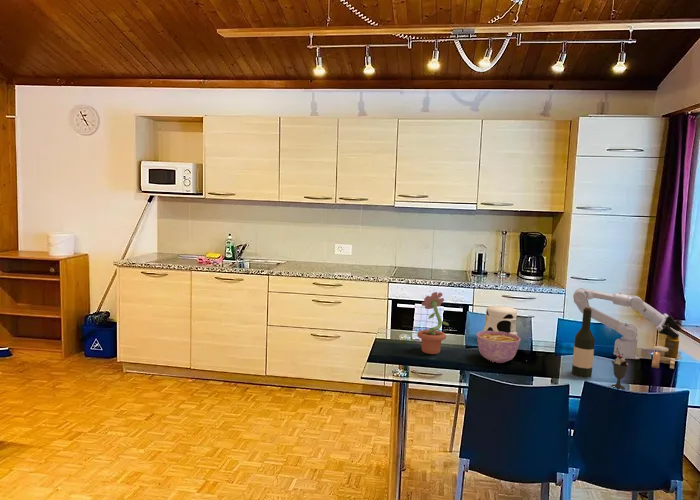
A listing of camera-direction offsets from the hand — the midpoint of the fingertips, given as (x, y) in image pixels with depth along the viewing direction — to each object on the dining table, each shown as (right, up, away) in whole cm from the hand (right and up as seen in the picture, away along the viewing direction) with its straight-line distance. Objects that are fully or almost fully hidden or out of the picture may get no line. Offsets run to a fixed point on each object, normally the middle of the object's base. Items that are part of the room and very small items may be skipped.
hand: (678, 333), depth 256 cm
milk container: (-78, -9, +27) cm, 83 cm away
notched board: (-6, -15, +1) cm, 16 cm away
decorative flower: (-117, -10, +3) cm, 118 cm away
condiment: (+4, -14, +14) cm, 21 cm away
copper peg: (-13, -15, -4) cm, 21 cm away
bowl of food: (-88, -12, -5) cm, 89 cm away
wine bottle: (-55, -15, -20) cm, 60 cm away
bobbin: (-4, -14, +9) cm, 17 cm away
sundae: (-46, -17, -34) cm, 59 cm away
